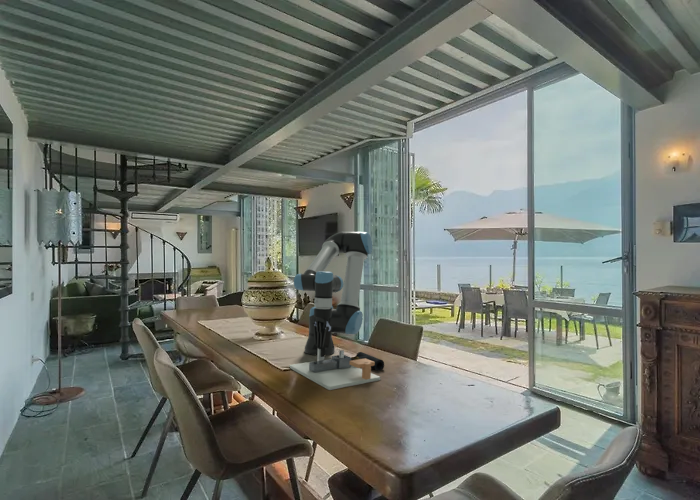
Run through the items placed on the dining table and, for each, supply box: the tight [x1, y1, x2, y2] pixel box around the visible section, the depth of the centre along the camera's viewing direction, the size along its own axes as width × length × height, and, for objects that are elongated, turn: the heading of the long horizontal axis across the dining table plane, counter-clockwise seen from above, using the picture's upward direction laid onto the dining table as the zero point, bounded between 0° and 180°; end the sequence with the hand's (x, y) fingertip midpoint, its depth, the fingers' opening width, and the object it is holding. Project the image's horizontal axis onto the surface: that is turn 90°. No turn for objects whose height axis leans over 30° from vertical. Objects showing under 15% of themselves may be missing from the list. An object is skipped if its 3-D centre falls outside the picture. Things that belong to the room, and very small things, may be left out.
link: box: [309, 354, 351, 372], centre depth 160 cm, size 18×6×4 cm, turn 126°
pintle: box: [338, 350, 345, 358], centre depth 164 cm, size 2×2×8 cm
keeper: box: [349, 358, 375, 379], centre depth 151 cm, size 8×7×7 cm
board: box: [288, 358, 381, 391], centre depth 158 cm, size 24×32×1 cm
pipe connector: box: [351, 351, 385, 372], centre depth 170 cm, size 12×5×15 cm
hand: (320, 363), depth 162 cm, fingers closed
